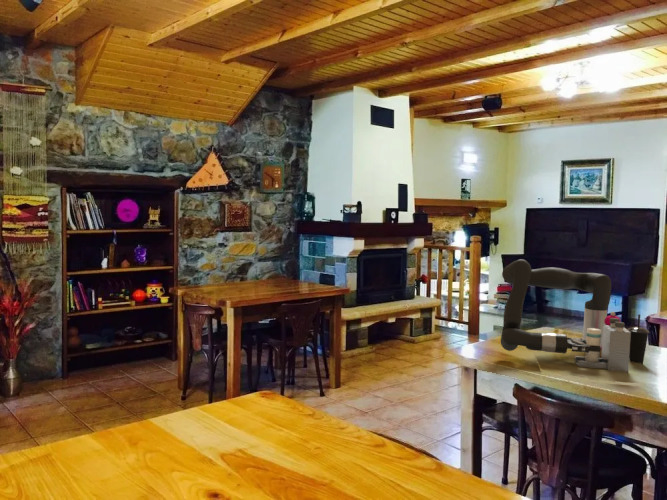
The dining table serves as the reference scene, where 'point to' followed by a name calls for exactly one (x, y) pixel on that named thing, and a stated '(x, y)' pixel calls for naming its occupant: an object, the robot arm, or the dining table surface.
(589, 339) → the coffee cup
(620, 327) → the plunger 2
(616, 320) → the plunger
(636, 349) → the drinking cup
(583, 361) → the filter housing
